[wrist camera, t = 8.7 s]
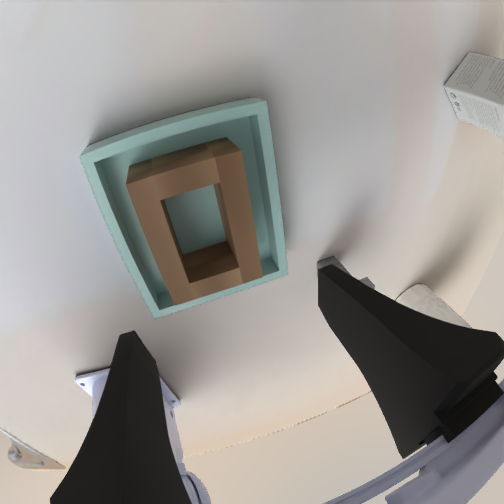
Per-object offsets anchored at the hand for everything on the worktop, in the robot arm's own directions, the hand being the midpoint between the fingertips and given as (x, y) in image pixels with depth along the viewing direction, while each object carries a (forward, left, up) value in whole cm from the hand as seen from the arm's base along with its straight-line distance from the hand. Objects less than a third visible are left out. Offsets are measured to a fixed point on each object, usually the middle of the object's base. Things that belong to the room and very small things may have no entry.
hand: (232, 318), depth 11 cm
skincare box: (+6, -25, -10) cm, 28 cm away
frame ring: (0, 0, -9) cm, 9 cm away
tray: (0, 0, -9) cm, 9 cm away
